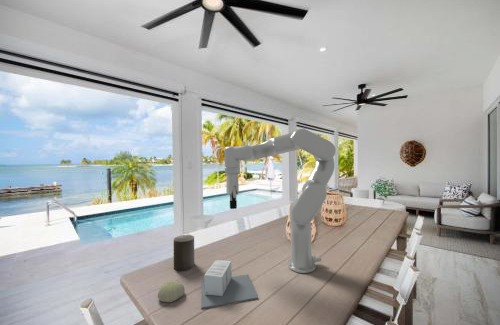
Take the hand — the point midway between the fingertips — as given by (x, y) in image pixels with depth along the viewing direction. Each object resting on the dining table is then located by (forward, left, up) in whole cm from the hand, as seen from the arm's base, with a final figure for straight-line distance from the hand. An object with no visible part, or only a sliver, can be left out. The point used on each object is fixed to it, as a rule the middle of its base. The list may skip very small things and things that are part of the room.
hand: (233, 208), depth 102 cm
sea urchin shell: (+27, +19, -28) cm, 43 cm away
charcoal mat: (+6, +21, -27) cm, 35 cm away
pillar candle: (+24, -4, -27) cm, 37 cm away
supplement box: (+7, +12, -23) cm, 27 cm away
